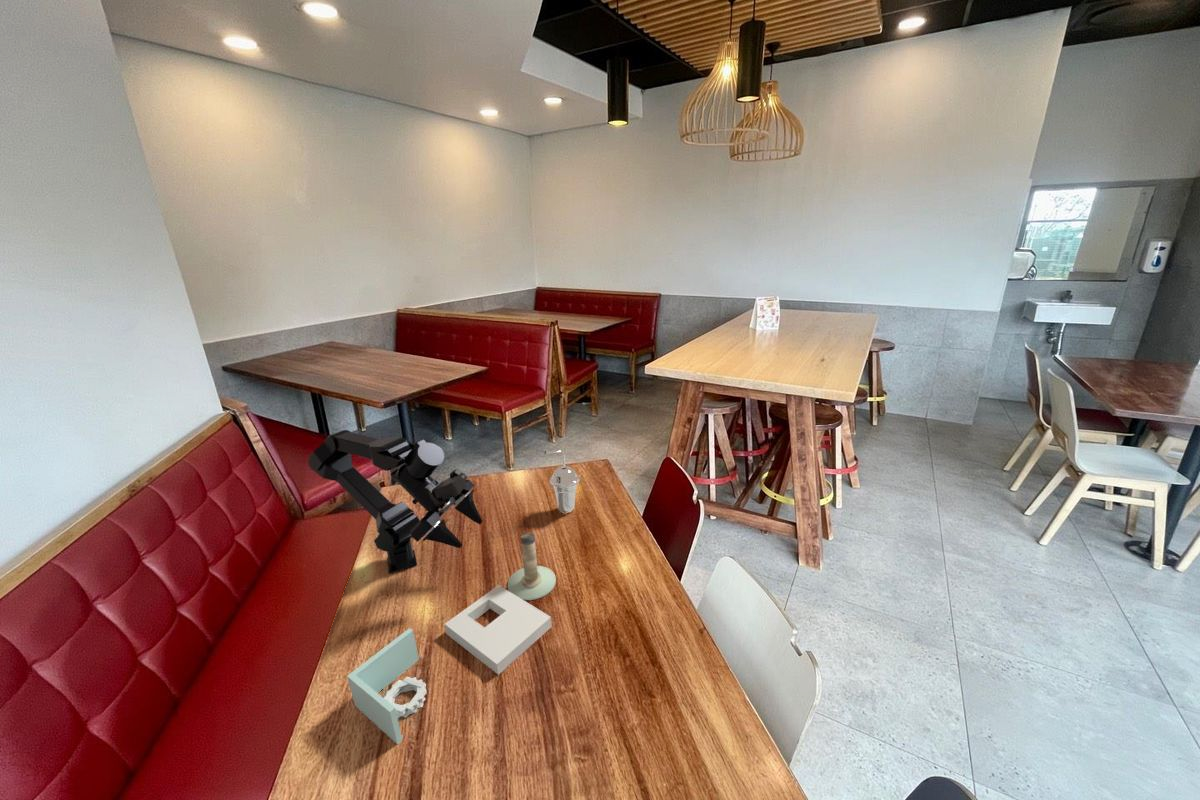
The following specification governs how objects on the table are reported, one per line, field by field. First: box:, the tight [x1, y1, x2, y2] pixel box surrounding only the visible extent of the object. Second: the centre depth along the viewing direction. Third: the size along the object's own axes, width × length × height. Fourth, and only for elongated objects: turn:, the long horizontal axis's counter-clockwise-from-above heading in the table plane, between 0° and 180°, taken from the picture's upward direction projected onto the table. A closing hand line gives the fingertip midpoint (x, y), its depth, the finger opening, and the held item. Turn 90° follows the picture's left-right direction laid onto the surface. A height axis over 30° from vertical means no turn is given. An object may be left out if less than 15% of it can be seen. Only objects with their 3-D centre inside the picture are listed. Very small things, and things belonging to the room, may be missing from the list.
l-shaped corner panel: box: [346, 627, 428, 745], centre depth 81 cm, size 12×12×8 cm
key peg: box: [520, 532, 541, 588], centre depth 107 cm, size 4×4×12 cm
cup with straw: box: [544, 450, 580, 513], centre depth 135 cm, size 8×9×20 cm
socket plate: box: [444, 584, 553, 676], centre depth 95 cm, size 16×14×2 cm
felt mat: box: [507, 565, 557, 601], centre depth 109 cm, size 11×11×1 cm
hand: (471, 534), depth 106 cm, fingers open, 9 cm apart
